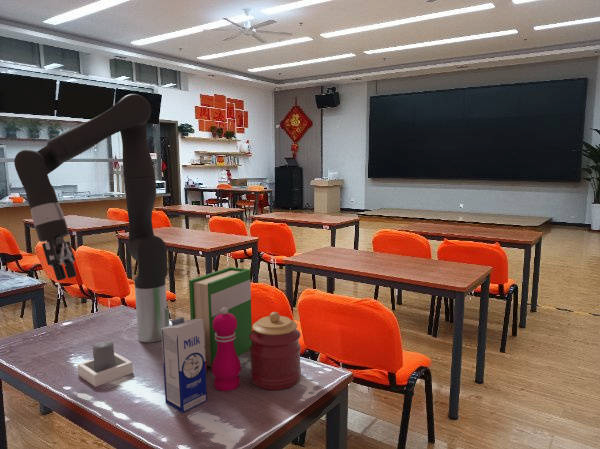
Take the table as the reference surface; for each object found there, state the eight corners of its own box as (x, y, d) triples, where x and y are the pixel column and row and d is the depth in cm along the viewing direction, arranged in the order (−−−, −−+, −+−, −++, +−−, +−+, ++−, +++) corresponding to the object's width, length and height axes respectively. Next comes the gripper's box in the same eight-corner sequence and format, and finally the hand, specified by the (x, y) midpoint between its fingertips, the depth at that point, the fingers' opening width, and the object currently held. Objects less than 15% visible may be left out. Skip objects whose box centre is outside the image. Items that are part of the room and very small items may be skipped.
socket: (114, 362, 127) (114, 352, 127) (132, 372, 120) (132, 362, 120) (78, 374, 120) (77, 364, 119) (95, 386, 113) (94, 375, 113)
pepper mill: (236, 393, 109) (233, 313, 106) (207, 390, 110) (204, 311, 108) (245, 379, 116) (243, 303, 113) (218, 377, 117) (215, 302, 115)
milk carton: (181, 413, 100) (177, 326, 98) (164, 403, 105) (159, 320, 102) (207, 400, 106) (204, 318, 103) (190, 391, 110) (186, 312, 107)
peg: (108, 368, 123) (106, 340, 122) (119, 372, 120) (117, 344, 119) (91, 375, 119) (88, 346, 118) (101, 380, 116) (99, 350, 115)
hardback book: (214, 371, 121) (210, 283, 118) (193, 365, 124) (188, 280, 121) (252, 347, 136) (250, 269, 133) (232, 343, 140) (230, 266, 136)
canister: (311, 377, 117) (310, 311, 114) (276, 396, 107) (274, 325, 105) (275, 363, 125) (274, 301, 123) (239, 380, 115) (237, 313, 113)
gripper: (54, 216, 118) (73, 276, 118) (72, 219, 132) (89, 272, 132) (24, 225, 116) (43, 285, 117) (45, 226, 131) (62, 280, 131)
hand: (67, 278), depth 124 cm, fingers open, 8 cm apart
